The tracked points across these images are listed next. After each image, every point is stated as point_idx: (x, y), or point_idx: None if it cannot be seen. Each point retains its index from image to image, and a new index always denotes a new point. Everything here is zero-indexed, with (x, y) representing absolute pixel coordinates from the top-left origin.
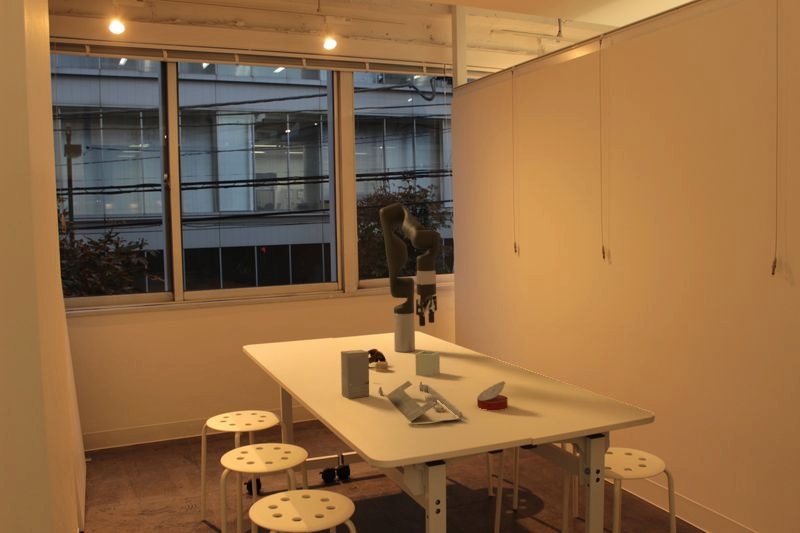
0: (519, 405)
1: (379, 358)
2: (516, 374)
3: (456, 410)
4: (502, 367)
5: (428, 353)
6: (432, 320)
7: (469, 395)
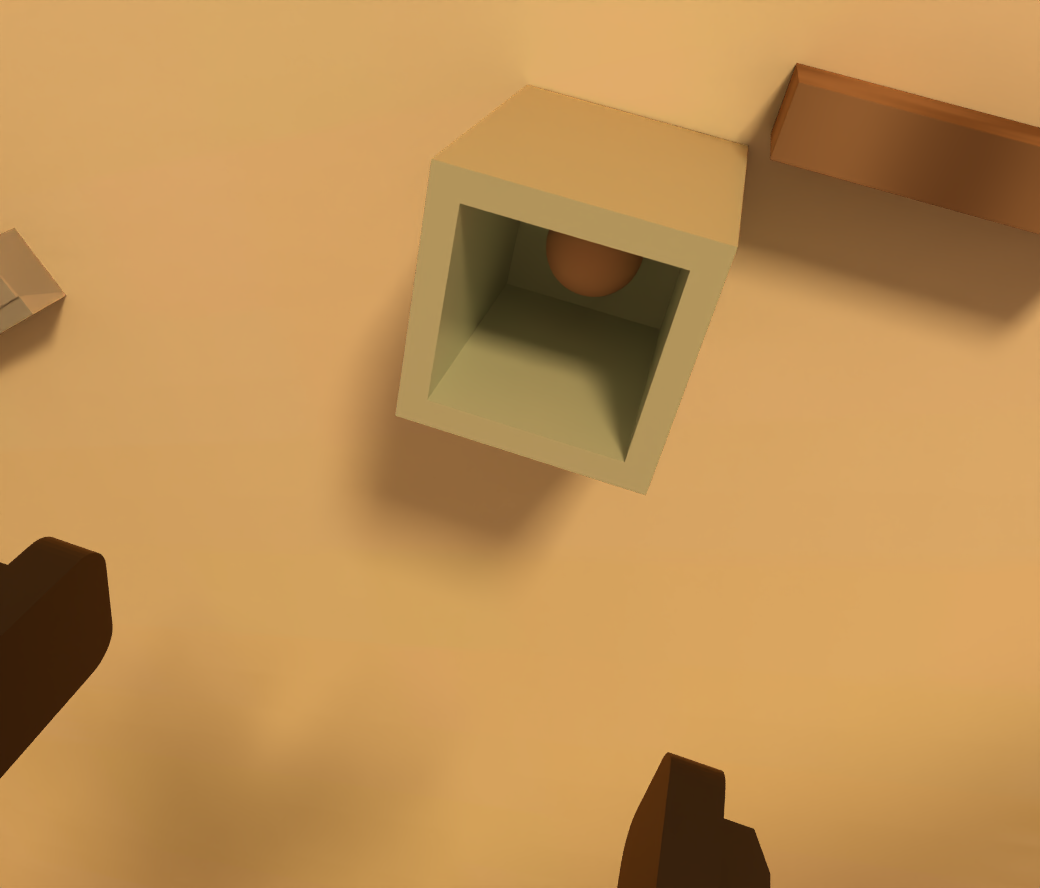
0: None
1: None
2: None
3: None
4: (1024, 837)
5: (668, 329)
6: (629, 875)
7: None
